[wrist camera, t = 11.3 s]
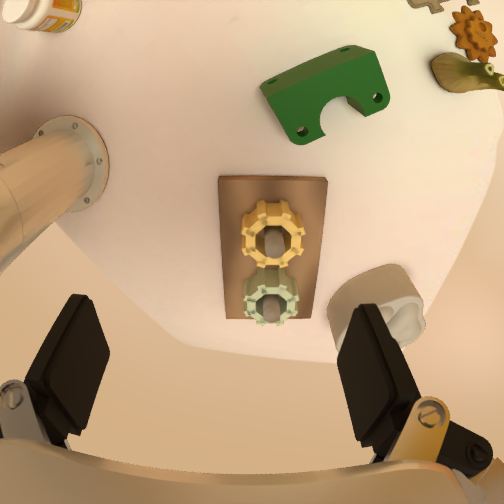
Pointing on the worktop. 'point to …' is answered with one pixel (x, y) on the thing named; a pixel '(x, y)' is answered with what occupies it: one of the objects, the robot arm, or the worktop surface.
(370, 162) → the worktop surface
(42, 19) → the supplement bottle
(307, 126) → the clamp
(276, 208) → the mustard gear
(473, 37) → the gear puzzle
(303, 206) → the gear board
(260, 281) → the sage gear
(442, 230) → the worktop surface
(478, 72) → the fennel bulb
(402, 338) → the lumpy-topped squat cylinder
